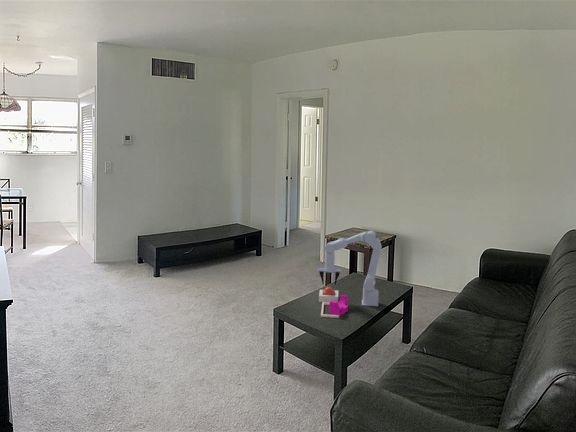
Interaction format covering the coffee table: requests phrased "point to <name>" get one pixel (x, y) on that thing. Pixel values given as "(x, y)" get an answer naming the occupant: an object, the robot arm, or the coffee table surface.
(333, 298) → the dome housing
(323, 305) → the frame
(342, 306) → the toy block
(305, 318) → the coffee table surface
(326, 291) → the dome
